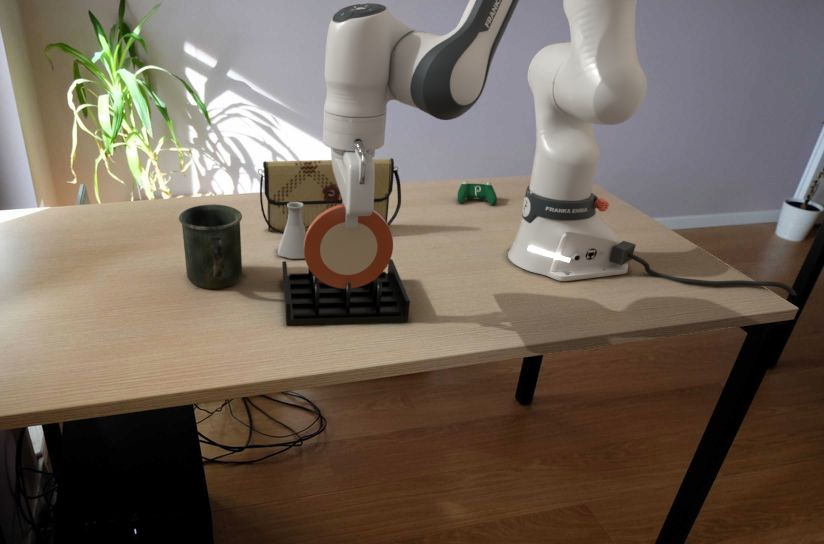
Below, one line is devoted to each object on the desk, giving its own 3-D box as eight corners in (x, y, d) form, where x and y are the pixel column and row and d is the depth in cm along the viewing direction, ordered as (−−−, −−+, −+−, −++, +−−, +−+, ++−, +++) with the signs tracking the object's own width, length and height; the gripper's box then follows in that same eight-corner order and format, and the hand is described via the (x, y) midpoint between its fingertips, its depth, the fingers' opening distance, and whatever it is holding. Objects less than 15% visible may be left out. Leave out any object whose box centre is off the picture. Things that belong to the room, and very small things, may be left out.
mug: (239, 261, 127) (236, 202, 121) (253, 296, 115) (250, 232, 109) (182, 267, 125) (176, 206, 118) (190, 303, 113) (183, 238, 106)
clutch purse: (261, 241, 136) (259, 169, 128) (259, 228, 142) (256, 159, 134) (402, 235, 140) (408, 165, 132) (394, 223, 146) (399, 155, 138)
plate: (388, 284, 108) (395, 202, 101) (389, 288, 107) (396, 205, 100) (303, 286, 107) (303, 203, 100) (303, 289, 106) (304, 206, 99)
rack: (390, 278, 122) (393, 243, 119) (408, 322, 109) (411, 283, 105) (282, 281, 121) (282, 245, 117) (286, 325, 107) (285, 286, 103)
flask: (309, 262, 128) (309, 212, 123) (272, 258, 129) (271, 209, 124) (316, 247, 134) (317, 199, 129) (282, 243, 135) (281, 196, 130)
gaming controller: (494, 210, 159) (494, 187, 161) (497, 203, 156) (497, 179, 157) (455, 208, 160) (456, 185, 161) (458, 201, 156) (458, 178, 158)
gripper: (388, 152, 86) (381, 250, 93) (365, 114, 103) (361, 199, 110) (340, 152, 85) (336, 250, 92) (325, 114, 103) (323, 200, 110)
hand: (349, 222), depth 101 cm, fingers closed on plate, 1 cm apart
